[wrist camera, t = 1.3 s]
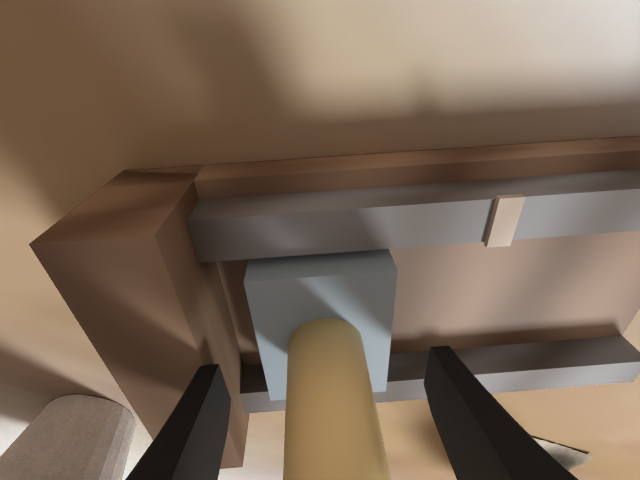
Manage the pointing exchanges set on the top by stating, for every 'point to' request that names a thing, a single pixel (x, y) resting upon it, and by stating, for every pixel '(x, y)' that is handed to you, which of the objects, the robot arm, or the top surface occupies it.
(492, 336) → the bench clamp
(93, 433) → the house plant
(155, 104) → the top surface
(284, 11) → the top surface
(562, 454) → the condiment
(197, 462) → the robot arm
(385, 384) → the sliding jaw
